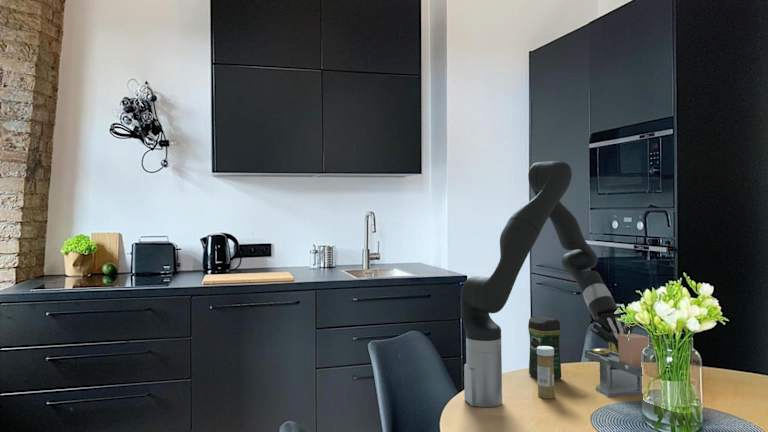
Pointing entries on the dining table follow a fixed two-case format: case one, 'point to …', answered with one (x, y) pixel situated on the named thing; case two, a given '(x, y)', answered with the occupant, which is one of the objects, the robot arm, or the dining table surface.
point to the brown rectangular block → (631, 348)
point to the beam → (614, 362)
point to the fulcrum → (617, 381)
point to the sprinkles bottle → (545, 372)
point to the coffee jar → (544, 342)
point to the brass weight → (601, 351)
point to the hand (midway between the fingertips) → (625, 353)
